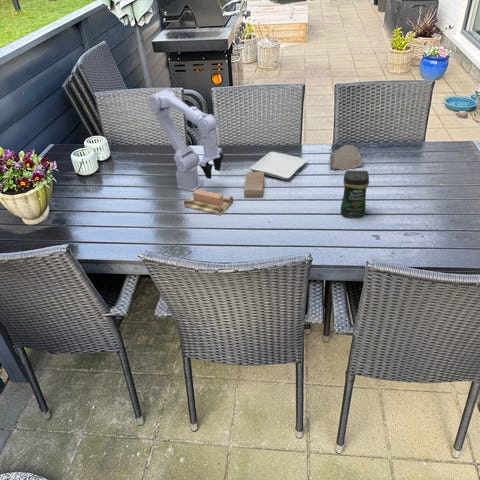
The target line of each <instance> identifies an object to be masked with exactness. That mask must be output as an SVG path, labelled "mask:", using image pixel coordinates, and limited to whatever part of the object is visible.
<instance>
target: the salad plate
mask: <svg viewBox="0 0 480 480" xmlns="http://www.w3.org/2000/svg"><path fill="white" fill-rule="evenodd" d="M308 161H309V159H307V158H303V157H299V156H295V155H290V154H285V153H281V152H276V151H270V152H268V153H267V154H265V155H264V156H263V157H262V158H260V159H259V160H258V161H256V162H255V163H254V164H253V165H251V166H250V167H249V169H250V171H252V172H264V176H269V177H273V178H277V179H281V180H289V179H291V177H292V176H293V175H294V174H296V172H298V170H300V169H301V168H302V167H303V166H304V165H306V164H307V163H308Z"/></svg>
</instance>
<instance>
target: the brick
mask: <svg viewBox="0 0 480 480" xmlns="http://www.w3.org/2000/svg"><path fill="white" fill-rule="evenodd" d="M264 183H265V175H264V172H254V171H252V172H246V173H245V181H244V186H243V194H244V196H243V197H244V198H245V199H262V198H263V196H264Z"/></svg>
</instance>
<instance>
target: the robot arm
mask: <svg viewBox="0 0 480 480" xmlns="http://www.w3.org/2000/svg"><path fill="white" fill-rule="evenodd" d="M147 103H148V107H150V110H151V111H152V112H153V115H154V117H155V118H156V121H157V122H158V124H159V126H160V127H161V129H162V131H163V132H164V134H165V136H166V137H167V140H168V141H169V143H170V145H171V146H172V148H173V149H174V151H175V154H174V157H173V160H174V162H175V164H176V168H177V169H176V172H175V173H176V174H175V175H176V182H177V186H176V188H177V189H181V190H185V191H189V192H194V191H195V190H196V189H199V188H200V187H201V186H202V185H203V182H200V180H199V175H198V167H200V169H202V171H203V173H204V175H205V179H212V169H213V167H214V170H215V171H218V172H220V171H221V165H222V161H223V159H224V156H225V155H224V153H223V149H222V147H218V143H217V142H218V141H217V135H216V128H217V127H218V123H219V122H218V120H217V118H216V116H215V115H214V114H211V113H209V114H208V113H205V112H203V111H201V110H200V109H198V107H196V106H194V105H193V106H189V105H188V104H186V103H185V102H183V100H181V99H179V98H178V97H176V94H175V92H174V91H171V89H169V88H165V89H164V88H163V90H161V91H157V92H156V93H153V94H150V95H149V96H148V101H147ZM171 108H172V109H174V110H176V111H178V112H180V113H182V114H183V115H184V116H185V119H186V120H187V121H189V122H191V123H192V124H194V125H195V126H197V129H198V130H199V132H200V136H201V138H202V139H201V140H202V147H203V156H202V158H201V160H200V156H199V154H198V153H197V152H195V150H194V149H193V147H190V146H188V145H186V142H185V141H184V139H183V138H182V136H181V134H180V132H179V131H178V129H177V126H175V124H174V121H173V120H172V118H171V116H170V115H169V111H170V109H171ZM210 161H211V162H213V164H210V163H209V162H210ZM198 164H199V165H198Z"/></svg>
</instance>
